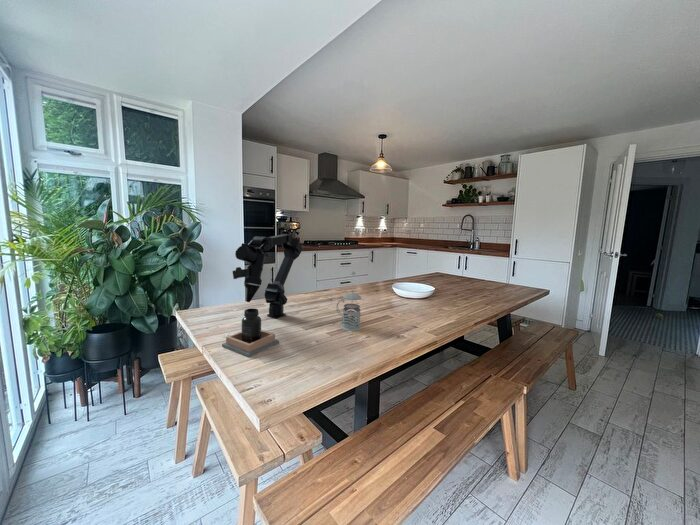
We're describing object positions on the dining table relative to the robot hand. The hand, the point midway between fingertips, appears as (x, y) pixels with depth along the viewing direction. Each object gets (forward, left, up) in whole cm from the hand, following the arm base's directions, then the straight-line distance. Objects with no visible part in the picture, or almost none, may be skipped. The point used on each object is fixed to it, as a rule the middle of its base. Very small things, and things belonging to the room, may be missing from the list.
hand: (247, 301), depth 118 cm
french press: (-27, +33, -12) cm, 45 cm away
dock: (+10, +13, -12) cm, 20 cm away
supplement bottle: (+9, +13, -11) cm, 19 cm away
